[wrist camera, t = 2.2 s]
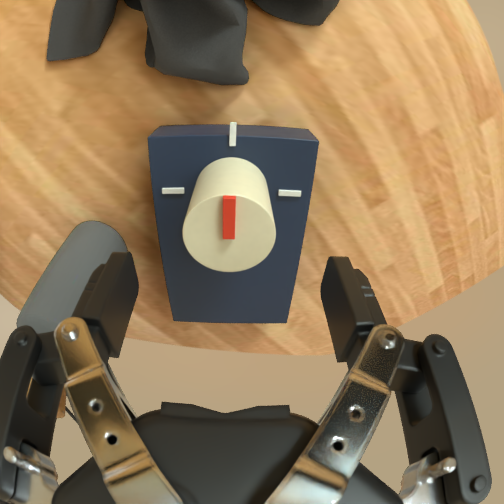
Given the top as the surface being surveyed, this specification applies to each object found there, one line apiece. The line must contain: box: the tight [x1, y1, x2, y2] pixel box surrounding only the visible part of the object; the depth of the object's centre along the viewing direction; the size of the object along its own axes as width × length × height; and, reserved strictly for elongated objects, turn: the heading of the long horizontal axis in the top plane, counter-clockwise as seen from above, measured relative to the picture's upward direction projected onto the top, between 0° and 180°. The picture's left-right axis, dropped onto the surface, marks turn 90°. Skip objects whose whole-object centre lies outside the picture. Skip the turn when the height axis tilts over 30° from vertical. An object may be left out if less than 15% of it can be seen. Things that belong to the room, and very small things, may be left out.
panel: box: [148, 122, 319, 323], centre depth 21 cm, size 17×10×3 cm, turn 177°
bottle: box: [17, 221, 127, 418], centre depth 18 cm, size 6×6×15 cm
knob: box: [182, 157, 276, 272], centre depth 16 cm, size 4×4×5 cm
